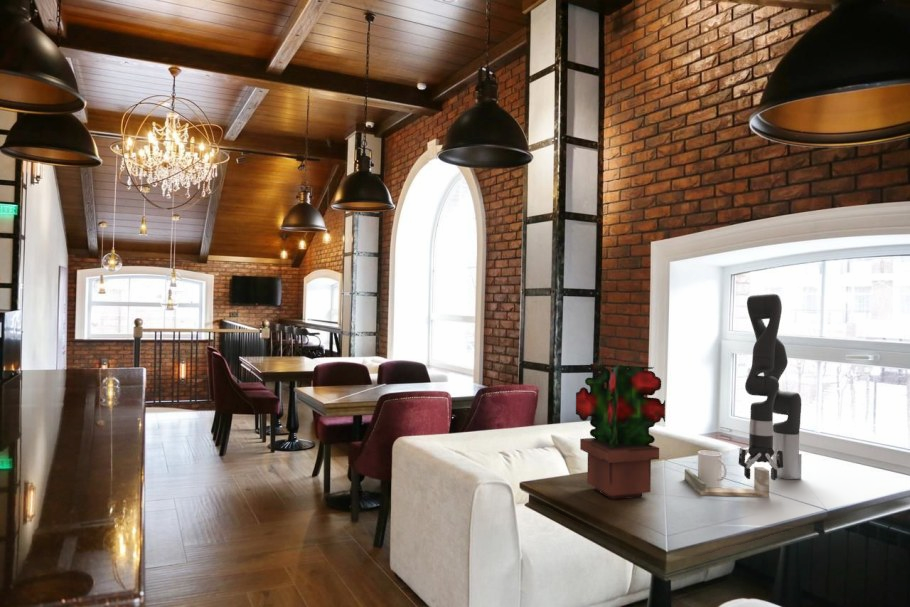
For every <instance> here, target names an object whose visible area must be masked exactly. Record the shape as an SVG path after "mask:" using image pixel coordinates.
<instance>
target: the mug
mask: <svg viewBox="0 0 910 607" xmlns="http://www.w3.org/2000/svg"><path fill="white" fill-rule="evenodd" d="M722 459H723V458H722V453H721V452H718V451H715V450H705V449H704V450H699V451H697V477H699V478H700V479H701V480H702V481H703V482H704V483H706V488H723V484H722V481H723V480H725V478H726V477H727V473H728V472H727V467H726V464H725V462H723V460H722ZM722 466H723V469H724V474H723V476H722Z"/></svg>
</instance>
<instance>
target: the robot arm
mask: <svg viewBox="0 0 910 607" xmlns="http://www.w3.org/2000/svg"><path fill="white" fill-rule="evenodd" d="M782 306H783V305H782V300H781V298H780V296H779V294H777V293H764V294H763V293H762V294H761V293H760V294H753V295H750V296H748V298H747V300H746V308H747V313H748V316H749V319H750V323H751V326H752V330H753V332H754V336H755V341H756V342H755V343H754V346H753V348H752V357H751V358H752V360H751V366H750V370H749V373H748V375H747V378H746V380H745V383H744V388H745V392H746V393H747V394H748V395H751V396H759V397H766V399H765V400H764V401H756V402H753V403H751V404H750V418H749V419H750V420H749V421H750V422H749V430H748V432H749V435H748V436H749V438H748V440H749V441H748V444H749V445H748V449H747V448H742V447H740V448H739V452H738V454H739V455H738V465H740V466H741V467H743V470H744V472H743V474H744V477H745V478H746V479H747V480H751V467H752V466H753V465H754V464H755V463H756V462H757V463H768V464H769V466H770V467H771V468H770V479H771V480H773V481H776V479H778V478H779V479H784V480H797V479H798V480H799V479H802V458H803V457H802V453H801V452H800V429H801V418H802V415H801V414H802V397H801V395H800V393H799V392H795V391H788V390H787V391H786V390H780V383H779V381H780V378H781V376H783V374H784V373H785V370H786V368H787V366H788V356H787V351H786V347H785V345H784V344H783V342H782V341H781V339H779V338H778V337H777V336H778V332H779V329H780V328H779V327H780V322H781V318H782V308H783V307H782ZM764 320H769V321H768V323H767V325H766V324H765V322H764ZM761 374H763V375H761ZM774 414H777V415H784V416H787V419H786V420H784V421H781V422H776V423H774V422H773V421H774V417H773V416H774ZM773 423H774V424H773ZM748 454H749V456H748V457H747V459H746V456H747V455H748Z"/></svg>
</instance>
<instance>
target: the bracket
mask: <svg viewBox="0 0 910 607" xmlns="http://www.w3.org/2000/svg"><path fill="white" fill-rule="evenodd" d="M753 472H754V474H753V475H754V476H753V478H754V479H753V488H739V487H738V488H733V487H732V488H731V487H719V488H709V487H706V483H704V482H703V481H702V480H701V479H700V478H699V477H698V475H696V474H695V473H694V472H693V471H691V470H690V469H689V468H685V469H684V481H685V482H687V483H688V484H689V485H690V487H692V489H694V490H695V491H696V492H697V493H698V494H700V495H701V496H726V497H758V498H759V497H763V498H770V470H769V469H767V468H765V467H764V466H754V470H753Z"/></svg>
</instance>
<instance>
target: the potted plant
mask: <svg viewBox="0 0 910 607" xmlns="http://www.w3.org/2000/svg"><path fill="white" fill-rule="evenodd" d="M606 367H611V368H610V369H609V368H606ZM654 368H655V366H654V367H653V366H648V367H647V366H638V365H637V366H635V365H634V366H633V365H627V363H623V364H620V365H618V364H617V365H615V364H614V365H613V364H601V363H600V364H598V363H590V369H591V370H592V371H594V372H595V371H596V372H599V373H597V374H596V375H595V377H587V378H586V379H585V380H584V383H585V385H586V386H589V388H590V390H588V388H586V387H584V386H583V387H581V388H580V389H579V391H576V392H575V414H576V415H577V416H579V419H580V420H581V421H585V422H586V421H587V420H588V418H589V417H593V418H591V419H590V420H589V423H590V426H591V427H594V428H592V429H590V431H589V434H590V436H591V437H588V438H587V437H586V438H580V442H579V443H580V446H579V448H580V450H581V451H582V452H585V453H587V475H586V476H587V478H586V479H587V484H589V485H590V486H593V488H594V490H595V489H597V490H599V491H601V492H602V493H604V494H605V495H607V496H609V497H610V498H609V497H608V498H609V499H611V498H612V499H611V500H615V499H614V498H622V499H628V498H627V497H633V498H642V497H643V494H644V493H645V494H646V493H647V494H648V493H651V490H652V489H651V487H652V486H651V475H652V472H651V469H652V466H651V464H652V463H651V461H653V460H655V461H656V460H660V447H659V446H655V445H652V444H653V443H654V442H655V441H656V439H655V437H654V436H653V435H652V434H650V428H654V427H655V424H657V423H660V422H661V421H662V420H663V422H664V423H666V399H664V401H663V403H662V400H661V399H659V398H657V397H650V396H653V395H655V393H656V391H660V390H661V389H662V380H661V378H660V377H658V376H656V373H655V372H654V371H651V370H652V369H654ZM645 369H649V370H645ZM610 370H611V372H610ZM605 384H606V385H605ZM605 387H606V388H605ZM646 396H649V397H646ZM597 490H596V491H597ZM602 493H601V494H602ZM604 494H603V495H604ZM605 495H604V496H605ZM607 496H606V497H607ZM641 496H642V497H641Z"/></svg>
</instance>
